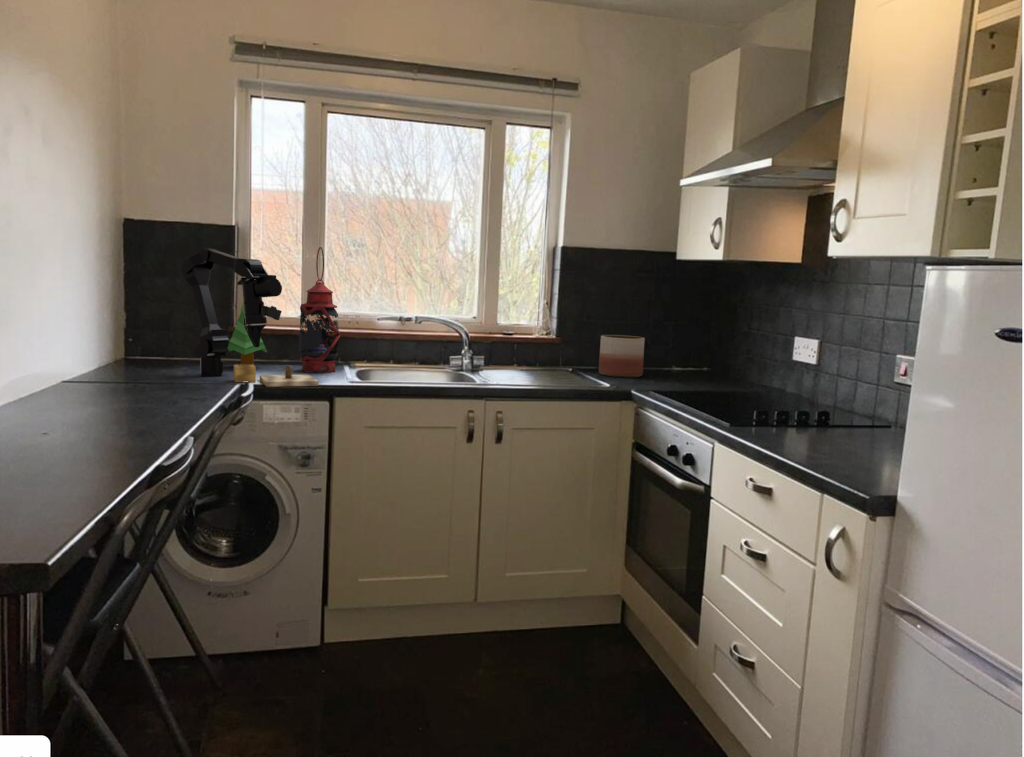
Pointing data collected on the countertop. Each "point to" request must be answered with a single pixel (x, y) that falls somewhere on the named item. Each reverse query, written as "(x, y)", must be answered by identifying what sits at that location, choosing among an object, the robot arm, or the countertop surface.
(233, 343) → the decorative tree
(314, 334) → the lantern
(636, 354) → the planter
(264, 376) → the post board
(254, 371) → the wooden crate frame
